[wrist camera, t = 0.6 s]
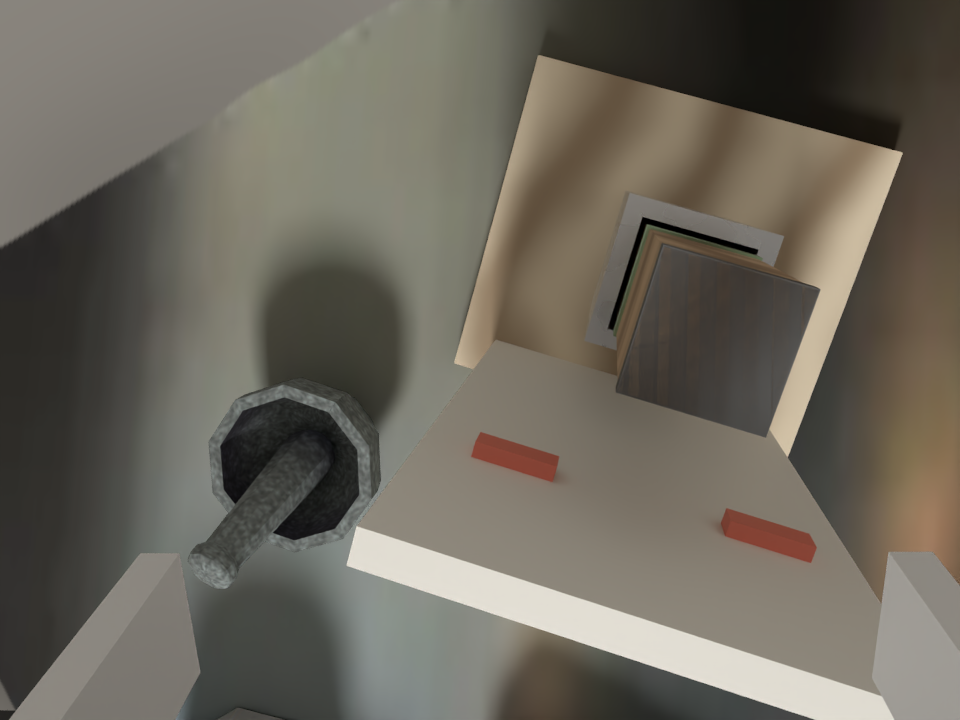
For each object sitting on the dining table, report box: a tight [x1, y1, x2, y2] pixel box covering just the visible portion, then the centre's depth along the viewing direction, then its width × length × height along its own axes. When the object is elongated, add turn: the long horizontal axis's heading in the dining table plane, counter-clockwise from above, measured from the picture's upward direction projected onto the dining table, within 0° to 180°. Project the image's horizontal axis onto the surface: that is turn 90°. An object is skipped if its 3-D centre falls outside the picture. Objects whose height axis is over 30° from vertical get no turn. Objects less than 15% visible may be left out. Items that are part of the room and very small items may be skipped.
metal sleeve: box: [584, 191, 784, 350], centre depth 43 cm, size 7×7×12 cm
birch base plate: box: [454, 55, 903, 457], centre depth 49 cm, size 20×18×2 cm
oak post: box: [613, 217, 821, 438], centre depth 36 cm, size 5×5×24 cm
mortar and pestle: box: [188, 378, 381, 589], centre depth 50 cm, size 11×9×12 cm
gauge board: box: [347, 340, 894, 720], centre depth 36 cm, size 16×2×28 cm, turn 75°
